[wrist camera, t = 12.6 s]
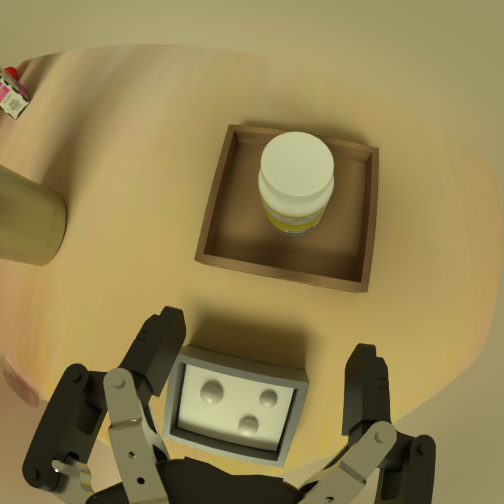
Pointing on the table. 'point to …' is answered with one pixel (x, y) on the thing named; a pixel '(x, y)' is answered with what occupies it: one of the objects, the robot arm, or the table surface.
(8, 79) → the candy bar box
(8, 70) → the tomato
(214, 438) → the bin
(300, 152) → the supplement bottle
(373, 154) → the walnut tray
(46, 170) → the table surface
